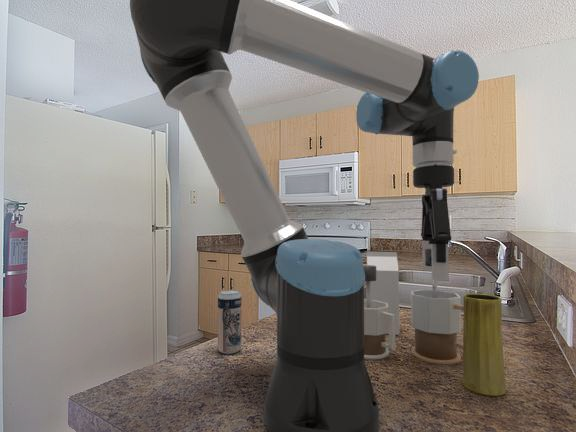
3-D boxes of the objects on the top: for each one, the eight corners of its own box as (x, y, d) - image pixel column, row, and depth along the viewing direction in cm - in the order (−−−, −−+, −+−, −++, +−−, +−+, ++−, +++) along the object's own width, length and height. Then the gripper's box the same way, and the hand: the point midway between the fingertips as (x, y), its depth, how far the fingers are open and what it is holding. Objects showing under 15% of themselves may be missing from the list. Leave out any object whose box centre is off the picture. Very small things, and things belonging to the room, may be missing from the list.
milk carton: (399, 335, 79) (398, 253, 79) (367, 333, 80) (367, 253, 81) (396, 326, 86) (395, 251, 86) (367, 325, 87) (366, 250, 88)
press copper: (456, 374, 58) (455, 304, 58) (402, 352, 68) (401, 292, 69) (486, 364, 63) (484, 298, 63) (430, 344, 73) (430, 288, 73)
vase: (514, 398, 50) (512, 301, 51) (469, 395, 51) (467, 299, 52) (496, 379, 56) (494, 293, 57) (456, 377, 57) (455, 292, 58)
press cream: (378, 368, 61) (377, 271, 61) (341, 349, 70) (340, 265, 70) (408, 359, 65) (407, 268, 65) (369, 342, 74) (368, 263, 74)
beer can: (227, 357, 66) (227, 295, 66) (212, 351, 69) (213, 292, 70) (246, 350, 70) (246, 291, 70) (231, 344, 73) (231, 288, 73)
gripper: (469, 153, 55) (472, 287, 54) (442, 174, 78) (443, 268, 78) (420, 156, 57) (421, 285, 56) (407, 176, 80) (409, 267, 80)
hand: (434, 275), depth 67 cm, fingers open, 12 cm apart
